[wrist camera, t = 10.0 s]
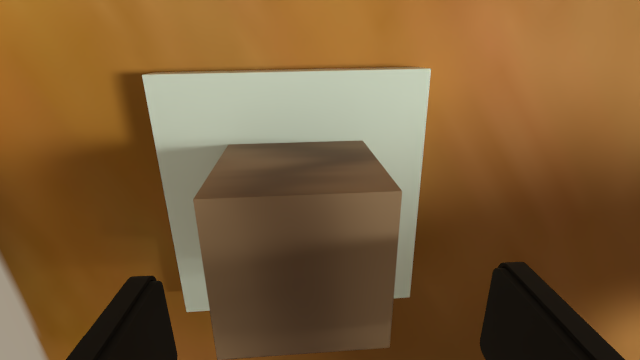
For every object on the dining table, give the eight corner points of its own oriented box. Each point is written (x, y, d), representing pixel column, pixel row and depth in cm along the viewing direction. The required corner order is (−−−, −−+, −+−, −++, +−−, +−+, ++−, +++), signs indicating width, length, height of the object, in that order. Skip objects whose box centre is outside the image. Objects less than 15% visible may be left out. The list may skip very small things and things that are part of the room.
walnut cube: (362, 140, 16) (402, 190, 10) (358, 254, 18) (389, 347, 12) (228, 144, 15) (193, 199, 10) (240, 260, 18) (217, 360, 12)
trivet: (418, 66, 16) (430, 68, 15) (401, 279, 21) (409, 297, 19) (156, 72, 16) (141, 74, 14) (194, 292, 20) (186, 311, 18)
